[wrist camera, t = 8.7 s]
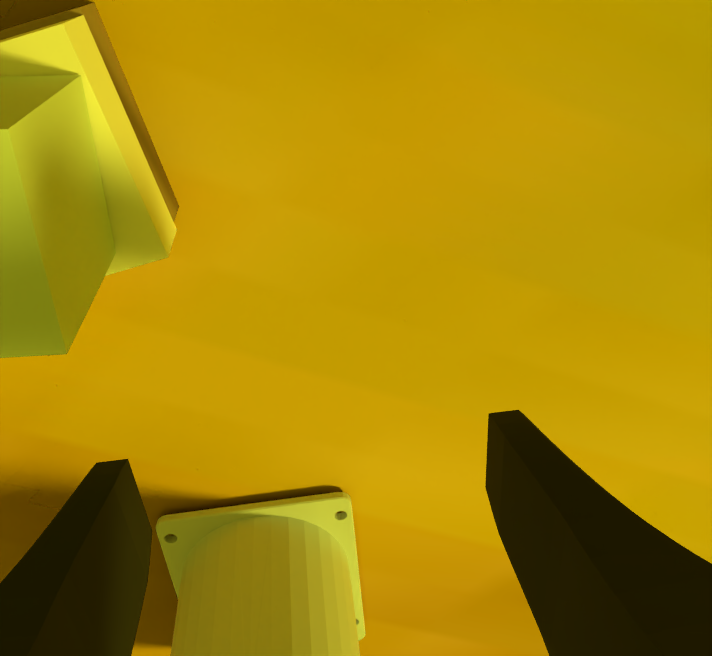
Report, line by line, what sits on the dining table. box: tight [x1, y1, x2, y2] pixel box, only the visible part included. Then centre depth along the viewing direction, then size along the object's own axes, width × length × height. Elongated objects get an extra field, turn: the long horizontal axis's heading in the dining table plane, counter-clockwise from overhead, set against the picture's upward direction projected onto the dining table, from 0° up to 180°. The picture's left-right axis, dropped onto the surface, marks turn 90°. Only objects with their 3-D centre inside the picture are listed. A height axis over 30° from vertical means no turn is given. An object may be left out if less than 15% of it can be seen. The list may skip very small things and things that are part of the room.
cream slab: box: [0, 15, 177, 276], centre depth 18 cm, size 6×6×2 cm
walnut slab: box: [0, 3, 179, 222], centre depth 19 cm, size 6×6×2 cm
